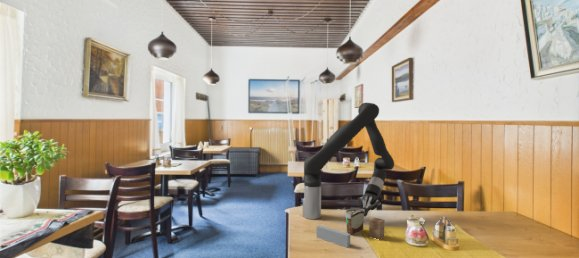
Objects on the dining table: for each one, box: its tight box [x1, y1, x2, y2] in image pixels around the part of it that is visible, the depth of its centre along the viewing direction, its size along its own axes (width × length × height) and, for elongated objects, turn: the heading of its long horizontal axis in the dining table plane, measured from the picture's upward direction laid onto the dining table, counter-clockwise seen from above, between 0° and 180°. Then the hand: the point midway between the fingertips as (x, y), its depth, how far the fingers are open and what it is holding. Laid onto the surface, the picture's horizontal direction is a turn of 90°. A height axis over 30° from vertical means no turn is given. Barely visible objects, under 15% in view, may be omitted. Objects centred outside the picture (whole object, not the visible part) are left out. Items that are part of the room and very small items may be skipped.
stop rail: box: [316, 224, 351, 248], centre depth 130 cm, size 16×2×5 cm, turn 48°
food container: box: [344, 207, 365, 236], centre depth 142 cm, size 12×6×10 cm, turn 135°
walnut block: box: [368, 217, 385, 241], centre depth 135 cm, size 5×5×8 cm
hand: (363, 215), depth 150 cm, fingers closed
